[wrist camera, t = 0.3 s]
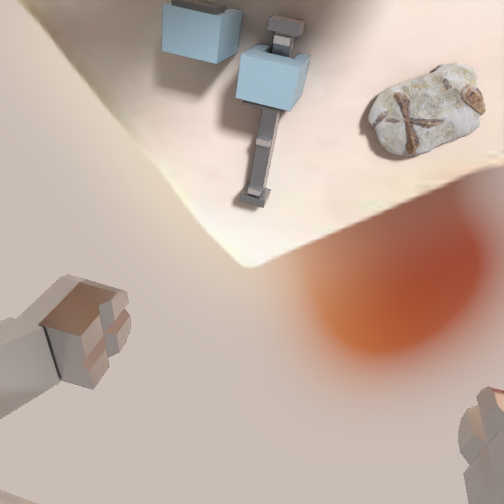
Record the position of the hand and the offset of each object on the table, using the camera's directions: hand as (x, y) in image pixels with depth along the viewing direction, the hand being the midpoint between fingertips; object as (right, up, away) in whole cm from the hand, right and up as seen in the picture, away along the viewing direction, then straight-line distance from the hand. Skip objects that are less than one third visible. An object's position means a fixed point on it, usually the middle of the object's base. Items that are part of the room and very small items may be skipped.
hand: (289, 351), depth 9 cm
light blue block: (-5, +30, +39) cm, 50 cm away
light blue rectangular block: (+3, +25, +40) cm, 47 cm away
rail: (+2, +20, +44) cm, 48 cm away
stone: (+20, +19, +39) cm, 48 cm away
